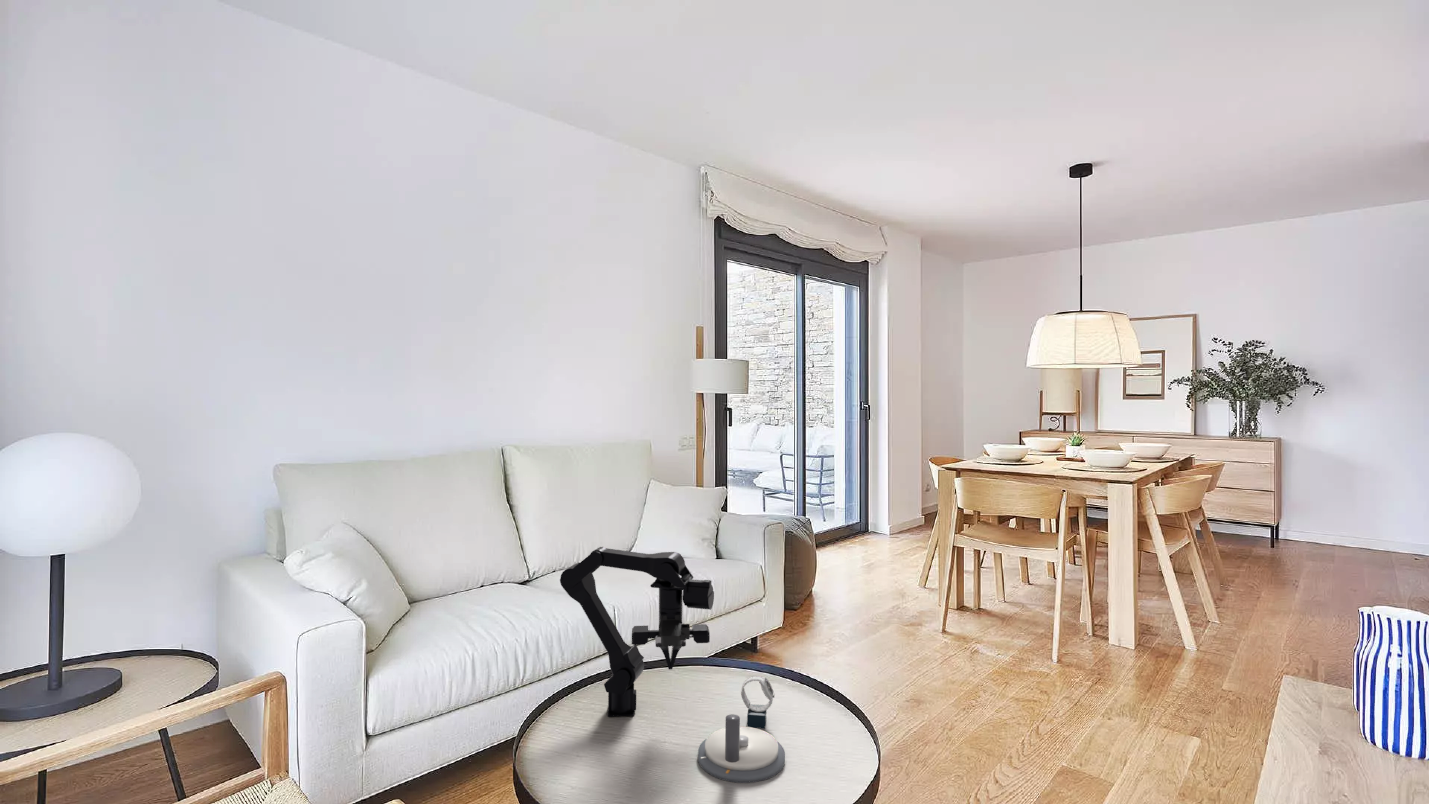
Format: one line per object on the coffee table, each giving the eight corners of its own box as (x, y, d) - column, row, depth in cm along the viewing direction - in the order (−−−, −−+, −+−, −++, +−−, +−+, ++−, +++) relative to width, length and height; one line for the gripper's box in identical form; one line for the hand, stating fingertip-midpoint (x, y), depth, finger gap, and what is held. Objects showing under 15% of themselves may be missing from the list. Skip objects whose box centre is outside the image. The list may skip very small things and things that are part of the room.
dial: (754, 779, 149) (754, 729, 149) (690, 755, 158) (691, 708, 158) (791, 746, 163) (791, 700, 162) (730, 726, 172) (731, 682, 171)
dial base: (701, 784, 150) (701, 776, 150) (695, 738, 169) (695, 731, 169) (792, 780, 152) (792, 773, 152) (776, 735, 171) (776, 728, 171)
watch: (773, 729, 174) (774, 683, 173) (739, 726, 175) (740, 681, 174) (774, 718, 179) (775, 674, 179) (741, 715, 180) (742, 671, 180)
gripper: (631, 617, 169) (630, 684, 170) (711, 615, 171) (711, 681, 171) (632, 602, 180) (632, 664, 181) (708, 601, 182) (707, 662, 183)
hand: (670, 668), depth 179 cm, fingers closed
